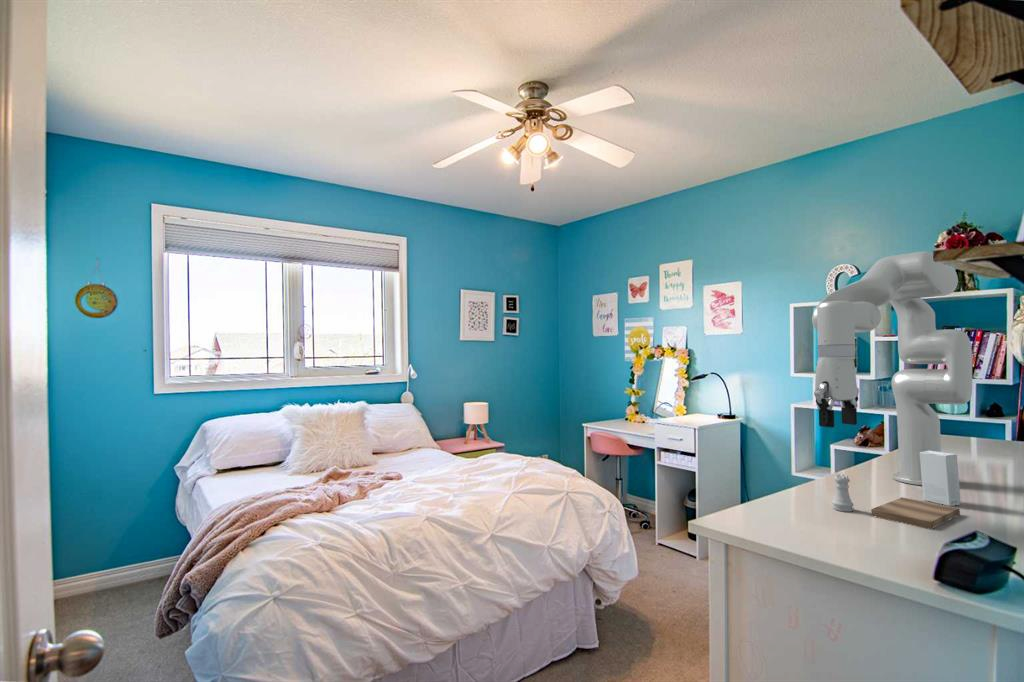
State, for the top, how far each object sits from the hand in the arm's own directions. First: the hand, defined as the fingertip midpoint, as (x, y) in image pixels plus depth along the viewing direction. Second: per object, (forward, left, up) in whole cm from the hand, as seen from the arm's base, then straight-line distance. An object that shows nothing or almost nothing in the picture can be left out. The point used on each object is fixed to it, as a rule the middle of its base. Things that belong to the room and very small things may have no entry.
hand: (838, 425), depth 122 cm
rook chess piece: (-1, 0, -20) cm, 20 cm away
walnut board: (-9, +12, -20) cm, 24 cm away
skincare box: (-25, +11, -20) cm, 34 cm away
